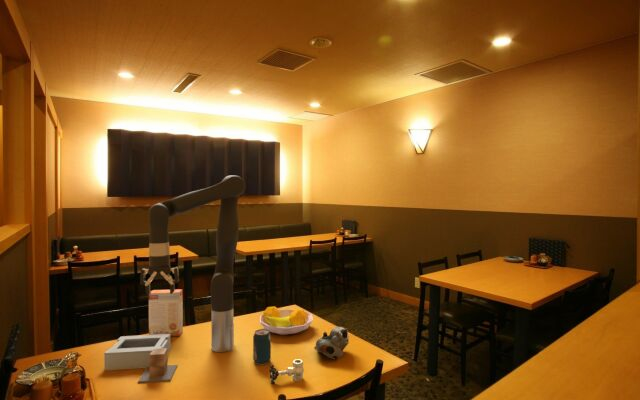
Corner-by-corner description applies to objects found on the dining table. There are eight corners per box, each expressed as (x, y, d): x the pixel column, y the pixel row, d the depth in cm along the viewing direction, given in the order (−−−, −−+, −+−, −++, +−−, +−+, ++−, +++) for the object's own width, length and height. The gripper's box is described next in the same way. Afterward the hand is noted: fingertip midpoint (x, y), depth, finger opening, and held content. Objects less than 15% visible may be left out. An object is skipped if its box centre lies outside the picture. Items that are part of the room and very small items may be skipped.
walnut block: (167, 368, 138) (167, 348, 138) (164, 375, 133) (163, 353, 133) (153, 369, 138) (153, 349, 137) (149, 376, 133) (149, 354, 132)
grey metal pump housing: (317, 345, 161) (331, 316, 163) (341, 360, 157) (355, 330, 160) (309, 350, 147) (325, 318, 149) (335, 366, 143) (351, 333, 145)
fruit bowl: (290, 316, 199) (290, 295, 199) (324, 330, 179) (324, 307, 179) (245, 329, 180) (245, 306, 180) (277, 346, 160) (277, 321, 160)
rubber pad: (177, 366, 142) (177, 364, 142) (170, 380, 131) (170, 379, 131) (147, 368, 140) (147, 366, 140) (137, 383, 129) (137, 381, 129)
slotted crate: (170, 349, 157) (170, 333, 157) (160, 366, 141) (160, 349, 141) (120, 351, 154) (120, 336, 154) (104, 370, 138) (104, 353, 138)
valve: (300, 373, 137) (269, 378, 133) (301, 356, 137) (269, 361, 133) (305, 382, 131) (272, 388, 127) (305, 364, 130) (272, 369, 127)
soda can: (273, 359, 148) (273, 329, 148) (265, 366, 142) (265, 336, 142) (258, 356, 151) (258, 327, 150) (249, 363, 144) (250, 333, 144)
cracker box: (183, 331, 177) (183, 288, 176) (179, 336, 171) (179, 292, 170) (153, 332, 175) (152, 289, 175) (148, 337, 169) (148, 292, 169)
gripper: (180, 251, 150) (180, 290, 151) (143, 252, 148) (143, 292, 148) (176, 254, 143) (177, 295, 143) (137, 256, 140) (138, 297, 141)
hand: (160, 294), depth 146 cm, fingers open, 8 cm apart
